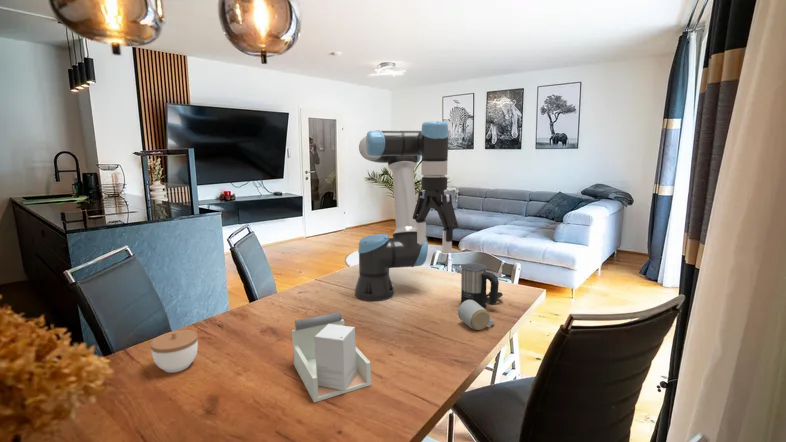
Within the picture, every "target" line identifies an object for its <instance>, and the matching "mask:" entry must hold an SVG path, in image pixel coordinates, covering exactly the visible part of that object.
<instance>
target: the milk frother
mask: <svg viewBox="0 0 786 442" xmlns="http://www.w3.org/2000/svg"><path fill="white" fill-rule="evenodd" d="M460 268H461V277H460V278H461V286H460V287H461V295H460V303H459V306H460V305H461V304H462V303H463V302H464V301H466V300H474V301H475V302H477V303H478V304H479V305H480V306H481V307H483V308H484V309H486V308H487V303H489V305H491V306H493V305H496V304H497V301H498V299H500V298H502V297H503V293H502V292H500V291H499V287H500V286H499V279H498V276H497V275H495V273H492V272H489V271H487V268H488V266H486V265H485V264H482V263H476V262H475V263H463V264H461V265H460ZM487 280H488V281H489V282H490V290H489V292H488V293H487Z"/></svg>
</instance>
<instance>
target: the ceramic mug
mask: <svg viewBox="0 0 786 442" xmlns="http://www.w3.org/2000/svg"><path fill="white" fill-rule="evenodd" d="M457 316H458V318H459V320H461V322H463V323H464V324H465V325H467V326H468V327H469V328H471V329H473V330H476V331H481V330H483V329H485V328H486V327H487V326H493V325H494V323H495V321H494V319H493V318H492V317H490V313H489V312H488V311H487V309H486V308H483V307H481V306H480V305H479V304H478V303H477V302H475V301H474V300H466V301H464V302H463V303H462V304H461V305H460V304H459V306H458V309H457Z"/></svg>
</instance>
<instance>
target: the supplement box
mask: <svg viewBox="0 0 786 442" xmlns="http://www.w3.org/2000/svg"><path fill="white" fill-rule="evenodd" d="M356 344H357V343H356V327H355V326H349V325H344V326H342V325H334V324H328V325H327V326H326V327H325V328H323V329H322V330H321V331H320V332H319V333H318V334H317V335H316V336H315V351H316V370H317V380H318V386H322V387H327V388H333V389H338V390H343V391H345V390H346V388H347V387H348V386H349V384H350V383H351V382H352V380H353V379H354V378H355V376H356V374H357V371H356V347H357V346H356Z"/></svg>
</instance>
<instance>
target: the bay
mask: <svg viewBox="0 0 786 442" xmlns="http://www.w3.org/2000/svg"><path fill="white" fill-rule="evenodd" d="M342 317H343V316H342V313H341V312H340V311H337V312H332V313H327V314H323V315H317V316H311V317H308V318H302V319H297V320H294V327H295V328H294V329H291V335H292V337H291V338H292V353H293V356H292V357H293V366H294V368H295V370H296V371H297V373H298V376H299V377H300V380H302V382H303V384H304V386H305V388H306V390H307V392H308V394H309V396H310V397H311V400H312V402H313V403H317V402H320V401H324V400H326V399H330V398H333V397H337V396H341V395H342V394H346V393H350V392H352V391H357V390H359V389H362V388H366V387H369V386H371V385H372V366H371V365H372V363H371V361H370V360H369V359H368V358H367V357H366V355H364V354H363V352H362V351H361V350H360V349H359V348H358V347H357V346H356V371H357V374H356V376H355V378H354V379H353V380H352V382H351V383H350V384H349V386H348V387H347V388H346V390H345V391H343V390H338V389H333V388H327V387H322V386H318V380H317V370H316V351H315V336H316V335H317V334H318V333H319V332H320V331H321V330H322V329H323V328H325V327H326V326H327V325H328V324H334V325H342V326H345V320H344V318H342Z"/></svg>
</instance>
